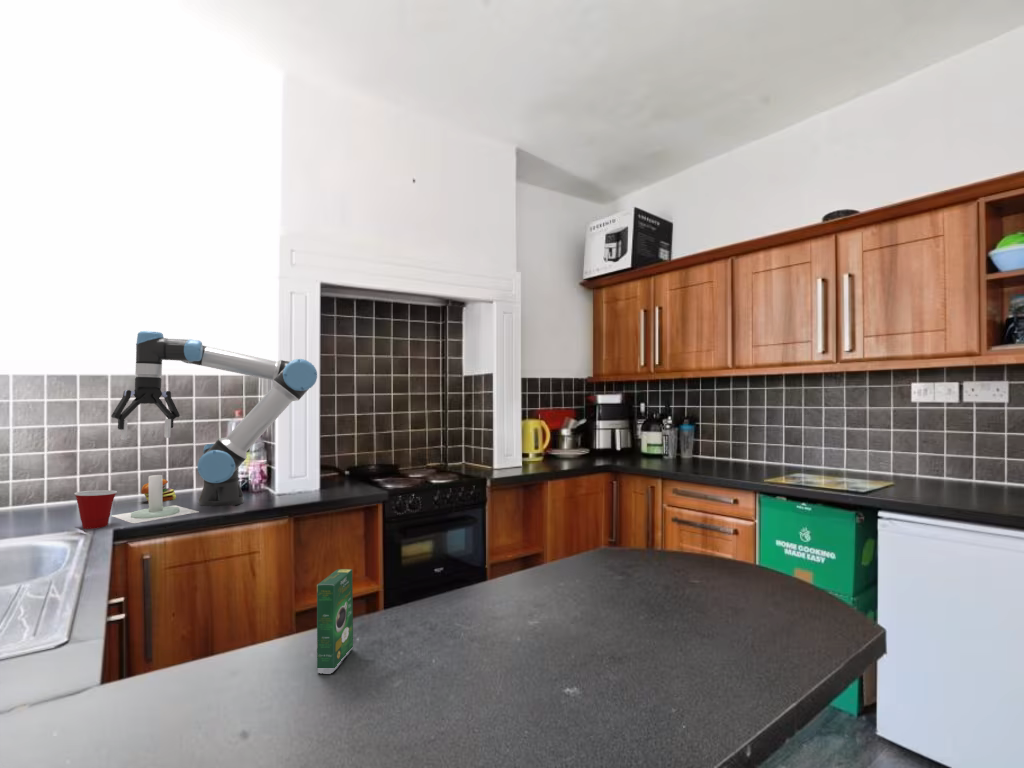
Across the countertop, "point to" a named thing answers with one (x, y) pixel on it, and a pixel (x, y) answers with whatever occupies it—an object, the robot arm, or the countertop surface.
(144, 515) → the lid
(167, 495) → the cheeseburger
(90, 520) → the plastic cup
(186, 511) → the mat
